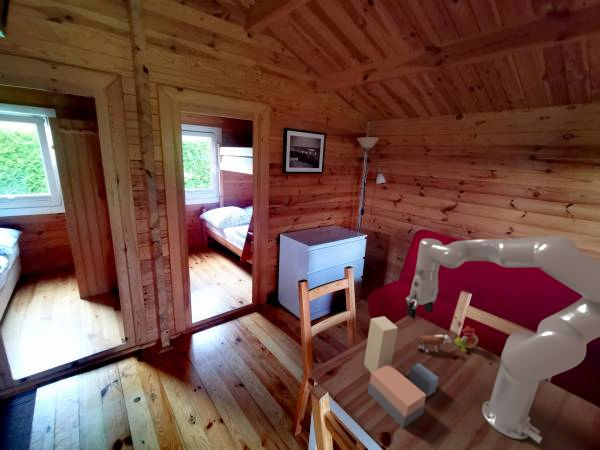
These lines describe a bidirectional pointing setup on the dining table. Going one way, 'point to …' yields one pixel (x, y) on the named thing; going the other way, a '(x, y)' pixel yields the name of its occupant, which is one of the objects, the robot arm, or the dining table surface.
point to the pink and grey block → (396, 395)
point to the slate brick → (423, 379)
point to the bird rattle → (467, 339)
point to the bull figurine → (433, 341)
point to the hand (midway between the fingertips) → (419, 313)
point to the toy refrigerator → (380, 343)
